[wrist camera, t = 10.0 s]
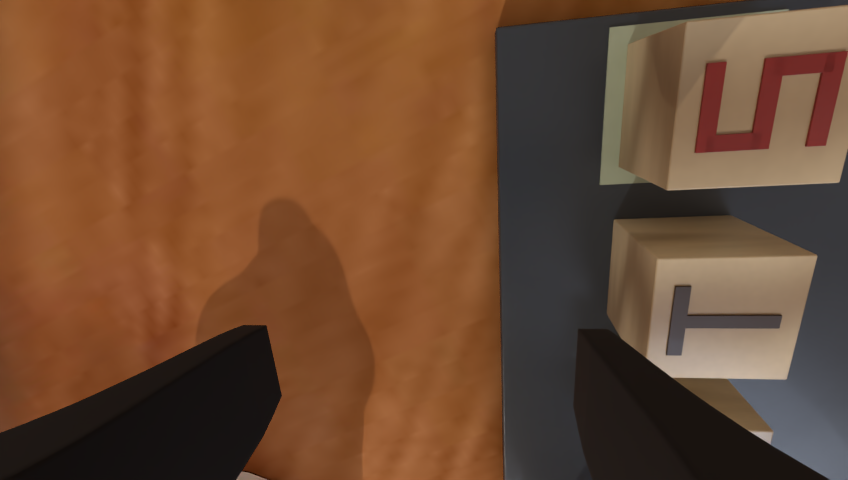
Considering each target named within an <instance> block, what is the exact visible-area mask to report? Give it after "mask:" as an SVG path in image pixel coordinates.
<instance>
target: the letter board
mask: <svg viewBox="0 0 848 480" xmlns="http://www.w3.org/2000/svg"><path fill="white" fill-rule="evenodd" d="M841 5H848V0H746V1H737V2H727V3H718V4H709V5H700V6H690V7H681V8H672V9H662V10H653V11H644V12H634V13H625V14H616V15H607V16H597V17H588V18H579V19H569V20H560V21H551V22H541V23H532V24H523V25H514V26H504V27H498V28H496V31H495V68H496V120H497V173H498V225H499V277H500V329H501V382H502V434H503V480H592V477H591V474H590V471H589V468H588V465H587V462H586V459H585V456H584V453H583V449H582V445H581V441H580V436H579V432H578V427H577V422H576V417H575V413H574V408H573V402H574V386H575V369H576V353H577V337H578V329H609V330H610V331H612V332H613V333H614V334H616V335H617V336H619V337H620V338H621V339H622V340H624V341H625V342H626V343H628V344H629V345H630V346H631V347H633V348H634V349H635V350H637V351H638V352H639V353H640V354H642V355H643V356H644V357H646V358H647V359H648V360H649V361H651V362H652V363H653V364H655V365H656V366H657V367H659V368H660V369H661V370H663V371H664V372H665V373H666V374H668V375H669V376H671V377H672V378H673V379H675V380H676V381H677V382H679V383H680V384H681V385H683V386H684V387H685V388H687V389H688V390H690V391H691V392H692V393H694V394H695V395H697V396H698V397H699V398H701V399H702V400H704V401H705V402H706V403H708V404H709V405H711V406H712V407H714V408H715V409H717V410H718V411H720V412H721V413H723V414H724V415H726V416H727V417H729V418H730V419H732V420H733V421H735V422H736V423H738V424H739V425H741V426H742V427H744V428H745V429H747V430H748V431H750V432H751V433H753V434H754V435H756V436H758V437H759V438H761V439H762V440H764V441H766V442H767V443H769V444H770V445H772V446H774V447H775V448H777V449H779V450H781V451H782V452H784V453H786V454H787V455H789V456H791V457H792V458H794V459H796V460H797V461H799V462H801V463H803V464H804V465H806V466H808V467H809V468H811V469H813V470H814V471H816V472H818V473H819V474H821V475H823V476H825V477H826V478H828V479H830V480H848V150H847V154H846V158H845V162H844V166H843V170H842V174H841V178H840V181H839V182H838V183H824V184H802V185H779V186H757V187H735V188H713V189H691V190H669V191H668V190H665V189H663V188H661V187H659V186H657V185H655V184H653V183H651V182H649V181H647V180H645V179H643V178H640V177H638V176H636V175H634V174H632V173H630V172H628V171H626V170H624V169H622V168H620V167H619V154H620V141H621V128H622V114H623V101H624V88H625V75H626V62H627V49H628V44H629V43H632V42H634V41H637V40H640V39H642V38H645V37H648V36H650V35H653V34H655V33H658V32H661V31H663V30H666V29H669V28H671V27H674V26H676V25H679V24H682V23H684V22H687V21H695V20H704V19H714V18H724V17H734V16H743V15H753V14H763V13H773V12H782V11H792V10H802V9H812V8H821V7H831V6H841Z"/></svg>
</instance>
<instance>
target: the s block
mask: <svg viewBox="0 0 848 480" xmlns="http://www.w3.org/2000/svg"><path fill="white" fill-rule="evenodd" d="M847 150H848V5H841V6H831V7H821V8H812V9H802V10H792V11H782V12H773V13H763V14H753V15H743V16H734V17H724V18H714V19H704V20H695V21H687V22H684V23H682V24H679V25H676V26H674V27H671V28H669V29H666V30H663V31H661V32H658V33H655V34H653V35H650V36H648V37H645V38H642V39H640V40H637V41H634V42H632V43H629V44H628V49H627V62H626V75H625V88H624V101H623V114H622V128H621V141H620V154H619V167H620V168H622V169H624V170H626V171H628V172H630V173H632V174H634V175H636V176H638V177H640V178H643V179H645V180H647V181H649V182H651V183H653V184H655V185H657V186H659V187H661V188H663V189H665V190H668V191H669V190H691V189H713V188H735V187H757V186H779V185H802V184H824V183H838V182H839V181H840V178H841V174H842V170H843V166H844V162H845V158H846V154H847Z"/></svg>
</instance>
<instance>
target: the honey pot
mask: <svg viewBox="0 0 848 480" xmlns="http://www.w3.org/2000/svg"><path fill="white" fill-rule="evenodd" d="M236 480H267V479H264V478H262V477H259V476H256V475H254V474H251V473H248V472H241V473H240V475H239V476H238V478H237V479H236Z"/></svg>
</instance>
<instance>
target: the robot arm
mask: <svg viewBox="0 0 848 480" xmlns="http://www.w3.org/2000/svg"><path fill="white" fill-rule="evenodd" d="M281 396H282V395H281V390H280V386H279V381H278V376H277V372H276V367H275V363H274V358H273V353H272V349H271V344H270V340H269V335H268V331H267V326H266V325H243V326H240V327H237V328H234V329H232V330H229V331H227V332H225V333H222V334H220V335H218V336H216V337H214V338H212V339H209V340H207V341H205V342H203V343H201V344H199V345H197V346H195V347H193V348H191V349H189V350H187V351H185V352H183V353H181V354H179V355H177V356H175V357H173V358H171V359H169V360H167V361H165V362H163V363H161V364H158V365H156V366H154V367H152V368H150V369H148V370H146V371H144V372H142V373H140V374H138V375H136V376H133V377H131V378H129V379H127V380H125V381H123V382H120V383H118V384H116V385H114V386H112V387H110V388H108V389H105V390H103V391H101V392H99V393H97V394H95V395H93V396H90V397H88V398H86V399H83V400H81V401H79V402H77V403H74V404H72V405H70V406H67V407H65V408H62V409H60V410H58V411H55V412H53V413H50V414H48V415H45V416H43V417H40V418H38V419H35V420H33V421H30V422H28V423H25V424H23V425H20V426H17V427H15V428H12V429H9V430H7V431H4V432H1V433H0V480H236V479H237V478H238V476H239V475H240V473H241V472H242V470H243V468H244V467H245V465H246V463H247V462H248V460H249V459H250V457H251V455H252V454H253V452H254V450H255V449H256V447H257V446H258V444H259V442H260V441H261V439H262V437H263V436H264V434H265V431H266V429H267V427H268V425H269V423H270V421H271V419H272V417H273V415H274V412H275V410H276V408H277V405H278V403H279V401H280V398H281ZM573 408H574V413H575V417H576V422H577V427H578V432H579V436H580V441H581V445H582V449H583V453H584V456H585V459H586V462H587V465H588V468H589V471H590V474H591V477H592V480H830V479H828V478H826V477H825V476H823V475H821V474H819V473H818V472H816V471H814V470H813V469H811V468H809V467H808V466H806V465H804V464H803V463H801V462H799V461H797V460H796V459H794V458H792V457H791V456H789V455H787V454H786V453H784V452H782V451H781V450H779V449H777V448H775V447H774V446H772V445H770V444H769V443H767V442H766V441H764V440H762V439H761V438H759V437H758V436H756V435H754V434H753V433H751V432H750V431H748V430H747V429H745V428H744V427H742V426H741V425H739V424H738V423H736V422H735V421H733V420H732V419H730V418H729V417H727V416H726V415H724V414H723V413H721V412H720V411H718V410H717V409H715V408H714V407H712V406H711V405H709V404H708V403H706V402H705V401H704V400H702V399H701V398H699V397H698V396H697V395H695V394H694V393H692V392H691V391H690V390H688V389H687V388H685V387H684V386H683V385H681V384H680V383H679V382H677V381H676V380H675V379H673V378H672V377H671V376H669V375H668V374H666V373H665V372H664V371H663V370H661V369H660V368H659V367H657V366H656V365H655V364H653V363H652V362H651V361H649V360H648V359H647V358H646V357H644V356H643V355H642V354H640V353H639V352H638V351H637V350H635V349H634V348H633V347H631V346H630V345H629V344H628V343H626V342H625V341H624V340H622V339H621V338H620V337H619V336H617V335H616V334H614V333H613V332H612V331H610V330H609V329H578V337H577V353H576V369H575V386H574V402H573Z"/></svg>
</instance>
